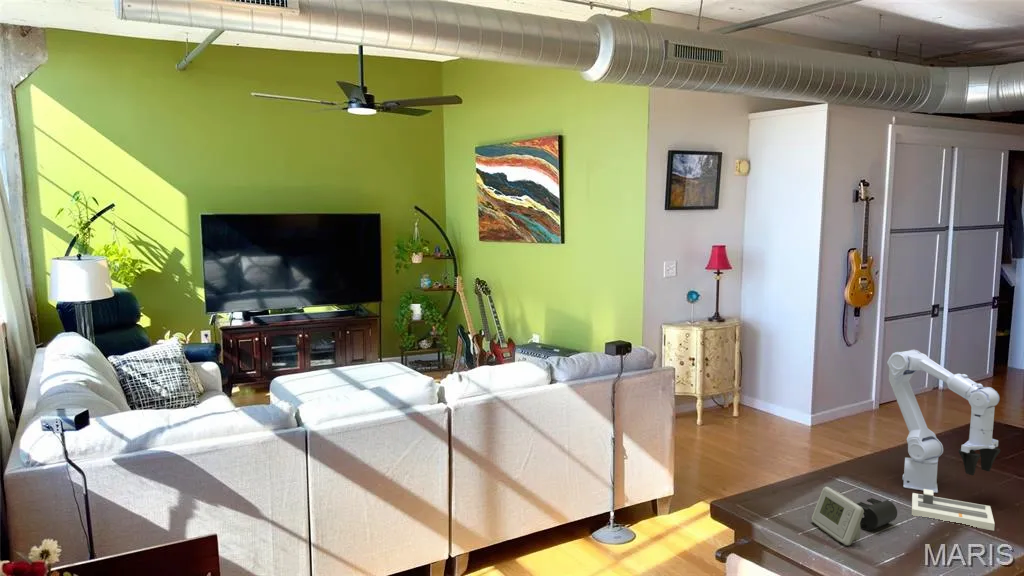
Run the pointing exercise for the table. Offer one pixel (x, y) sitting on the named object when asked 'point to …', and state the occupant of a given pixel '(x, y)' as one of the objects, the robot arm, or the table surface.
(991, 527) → the console
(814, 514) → the digital clock
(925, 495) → the fader tab
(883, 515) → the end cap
